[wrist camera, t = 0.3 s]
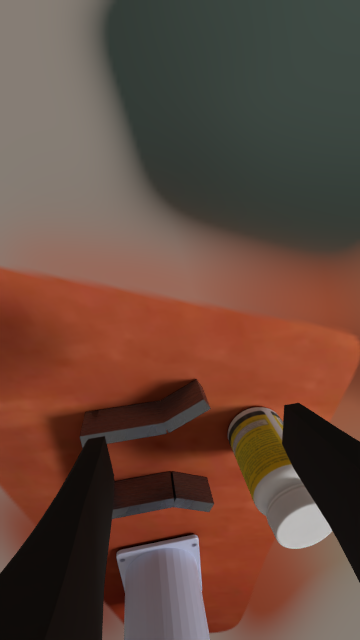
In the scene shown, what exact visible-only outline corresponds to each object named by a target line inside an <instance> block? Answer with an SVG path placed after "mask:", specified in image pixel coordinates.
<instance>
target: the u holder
mask: <svg viewBox="0 0 360 640" xmlns="http://www.w3.org/2000/svg"><path fill="white" fill-rule="evenodd" d="M209 409H211V408H210V406H209V403H208V401H207V398H206V395H205V393H204V390H203V388H202V386H201V385H200V383H199V382H198V381H197V379H196V380H194V381H193V382H191V383H189V384H187V385H186V386H184V387H182V388H181V389H179V390H177V391H176V392H174V393H172V394H171V395H169V396H167V397H166V398H164V399H162V400H161V401H154V402H148V403H141V404H134V405H128V406H121V407H115V408H108V409H102V410H95V411H89V412H85V415H84V420H83V424H82V429H81V433H80V440H81V443H82V447H84V445H85V443H86V441H87V440H88V439H91V438H97V437H102V436H105V439H106V443H107V444H108V443H114V442H120V441H126V440H132V439H138V438H144V437H150V436H156V435H162V434H167V433H166V429H167V431H168V432H169V433H170V432H172V431H173V430H175V429H177V428H179V427H180V426H182V425H184V424H185V423H187V422H189V421H191V420H192V419H194V418H196V417H197V416H199V415H201V414H203V413H204V412H206V411H208V410H209ZM213 505H214V502H213V498H212V494H211V491H210V487H209V483H208V480H207V477H201V476H195V475H190V474H184V473H178V472H173V471H172V473H171V474H170V472H165V473H159V474H154V475H148V476H143V477H137V478H132V479H126V480H121V481H115V482H114V502H113V513H112V519H114V518H120V517H125V516H130V515H135V514H140V513H145V512H150V511H155V510H160V509H165V508H171V507H177V508H184V509H191V510H198V511H205V512H209V511H210V510H211V508H212V506H213Z"/></svg>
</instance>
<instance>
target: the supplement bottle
mask: <svg viewBox="0 0 360 640" xmlns="http://www.w3.org/2000/svg"><path fill="white" fill-rule="evenodd" d="M282 434H283V422H282V420H281V419H280V417H279V416H278V415H277V414H276V413H275V412H274V411H273V410H271V409H269V408H265V407H254V408H250V409H247V410H244V411H243V412H241V413H239V414H238V415H237V416H236V417H235V418H234V419H233V420H232V422H231V424H230V426H229V429H228V440H229V443H230V446H231V448H232V450H233V452H234V455H235V457H236V460H237V462H238V465H239V467H240V469H241V472H242V474H243V477H244V479H245V481H246V484H247V486H248V489H249V491H250V494H251V496H252V499H253V501H254V503H255V505H256V507H257V508H258V510H259V511H260V512H261V513H262V514H264V515H265V516H266V517H267V520H268V523H269V526H270V527H271V529H272V531H273V533H274V535H275V537H276V539H277V541H278V542H279V543H280V544H281V545H282V546H284V547H286V548H291V549H299V548H305V547H308V546H311V545H314V544H316V543H318V542H320V541H321V540H323V539H324V538H325V537H327V536H328V535H329V534H330V533H331V531H332V529H331V527H330V526H329V524H328V522H327V521H326V519H325V518H324V516H323V515H322V513H321V511H320V510H319V508H318V507H317V505H316V504H315V502H314V500H313V499H312V497H311V496H310V494H309V492H308V491H307V489H306V488H305V486H304V485H303V483H302V481H301V480H300V478H299V477H298V475H297V473H296V472H295V470H294V468H293V466H292V464H291V462H290V460H289V458H288V456H287V454H286V452H285V450H284V447H283V445H282Z"/></svg>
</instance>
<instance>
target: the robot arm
mask: <svg viewBox="0 0 360 640" xmlns="http://www.w3.org/2000/svg"><path fill="white" fill-rule="evenodd" d="M282 445H283V447H284V450H285V452H286V454H287V456H288V458H289V460H290V462H291V464H292V466H293V468H294V470H295V472H296V473H297V475H298V477H299V478H300V480H301V481H302V483H303V485H304V486H305V488H306V489H307V491H308V492H309V494H310V496H311V497H312V499H313V500H314V502H315V504H316V505H317V507H318V508H319V510H320V511H321V513H322V515H323V516H324V518H325V519H326V521H327V522H328V524H329V526H330V527H331V529H332V531H333V532H334V534H335V536H336V538H337V539H338V541H339V543H340V545H341V547H342V549H343V551H344V553H345V555H346V557H347V558H348V561H349V562H350V564H351V566H352V568H353V570H354V572H355V574H356V576H357V578H358V580H359V582H360V442H359V441H358V440H356V439H354V438H353V437H351V436H349V435H348V434H346V433H345V432H343V431H342V430H340V429H338V428H337V427H335V426H334V425H332V424H331V423H329V422H328V421H326V420H325V419H323V418H321V417H320V416H318V415H317V414H315V413H314V412H312V411H311V410H309V409H308V408H306V407H305V406H303V405H301V404H300V403H295V404H289V405H284V420H283V434H282ZM113 502H114V474H113V469H112V465H111V461H110V456H109V452H108V448H107V443H106V439H105V436H102V437H97V438H91V439H88V440H87V441H86V443H85V445H84V447H83V449H82V451H81V453H80V455H79V457H78V459H77V461H76V462H75V464H74V466H73V468H72V470H71V472H70V473H69V475H68V477H67V478H66V480H65V482H64V484H63V485H62V487H61V489H60V490H59V492H58V494H57V495H56V497H55V498H54V500H53V502H52V503H51V505H50V506H49V508H48V509H47V511H46V512H45V514H44V515H43V517H42V518H41V520H40V521H39V523H38V524H37V526H36V527H35V529H34V530H33V532H32V533H31V534H30V536H29V537H28V538H27V540H26V541H25V542H24V544H23V545H22V546H21V548H20V549H19V551H18V552H17V553H16V554H15V556H14V557H13V558H12V559H11V561H10V562H9V563H8V564H7V566H6V567H5V568H4V570H3V571H2V572H1V573H0V640H102V623H103V598H104V583H105V572H106V564H107V555H108V547H109V539H110V530H111V521H112V513H113ZM116 558H117V562H118V566H119V570H120V574H121V578H122V582H123V586H124V590H125V626H124V640H210V637H209V631H208V625H207V620H206V614H205V608H204V603H203V597H202V592H201V591H202V581H201V567H200V553H199V540H198V536H197V535H189V536H184V537H180V538H175V539H170V540H165V541H160V542H156V543H151V544H146V545H141V546H136V547H132V548H127V549H122V550H119V551H118V552H117V554H116Z"/></svg>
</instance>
